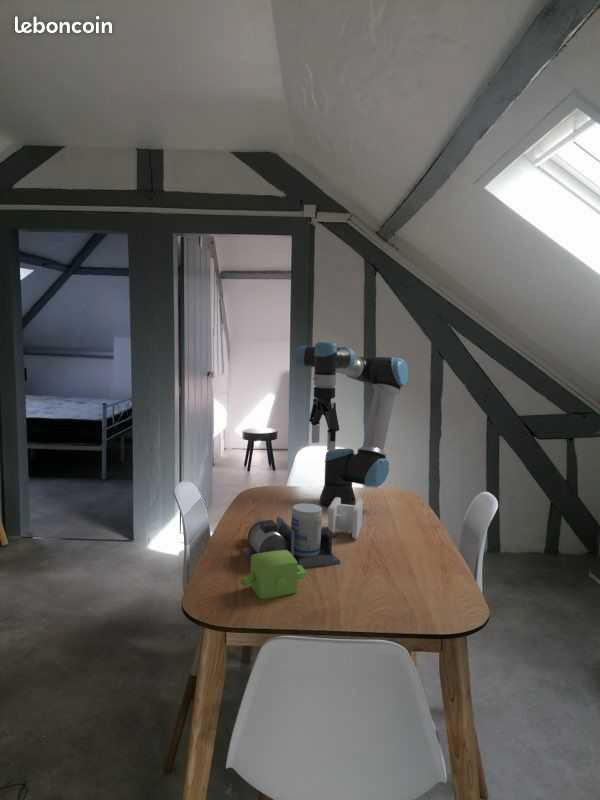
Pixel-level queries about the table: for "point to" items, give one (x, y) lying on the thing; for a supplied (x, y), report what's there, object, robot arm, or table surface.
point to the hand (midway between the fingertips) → (323, 446)
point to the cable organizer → (345, 517)
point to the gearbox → (274, 574)
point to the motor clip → (288, 543)
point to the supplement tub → (306, 529)
